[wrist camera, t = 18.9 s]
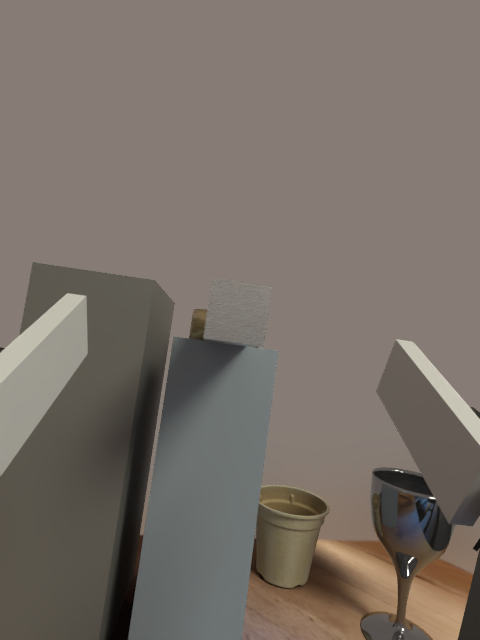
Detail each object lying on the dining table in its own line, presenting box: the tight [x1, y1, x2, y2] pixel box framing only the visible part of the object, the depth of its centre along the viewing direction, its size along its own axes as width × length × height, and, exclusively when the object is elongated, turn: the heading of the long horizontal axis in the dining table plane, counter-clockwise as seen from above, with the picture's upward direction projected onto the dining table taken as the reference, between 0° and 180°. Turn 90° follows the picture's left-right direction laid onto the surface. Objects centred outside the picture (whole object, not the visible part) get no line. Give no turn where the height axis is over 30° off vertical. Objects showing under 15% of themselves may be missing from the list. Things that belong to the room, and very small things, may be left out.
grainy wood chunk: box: [189, 278, 272, 348], centre depth 30 cm, size 7×23×3 cm, turn 4°
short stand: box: [128, 337, 278, 640], centre depth 35 cm, size 8×15×26 cm, turn 4°
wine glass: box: [361, 468, 455, 640], centre depth 37 cm, size 8×8×15 cm
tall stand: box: [0, 263, 175, 640], centre depth 34 cm, size 9×15×30 cm, turn 4°
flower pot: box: [256, 485, 330, 588], centre depth 45 cm, size 9×9×9 cm
